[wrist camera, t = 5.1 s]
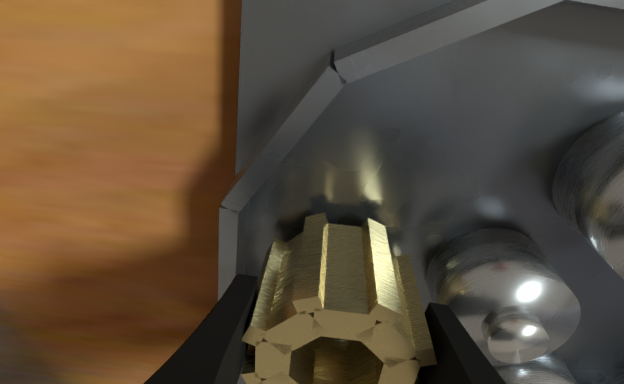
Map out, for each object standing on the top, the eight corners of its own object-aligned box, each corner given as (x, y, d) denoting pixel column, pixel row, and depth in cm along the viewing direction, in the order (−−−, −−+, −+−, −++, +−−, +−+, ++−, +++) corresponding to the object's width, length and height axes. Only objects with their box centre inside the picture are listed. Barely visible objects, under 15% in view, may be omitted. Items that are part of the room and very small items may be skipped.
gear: (425, 223, 12) (457, 313, 9) (393, 332, 15) (409, 434, 12) (268, 206, 13) (240, 286, 9) (264, 316, 15) (241, 412, 12)
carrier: (935, 41, 11) (1323, 80, 6) (581, 414, 21) (642, 523, 16) (254, -73, 10) (197, -110, 6) (232, 364, 20) (205, 462, 16)
